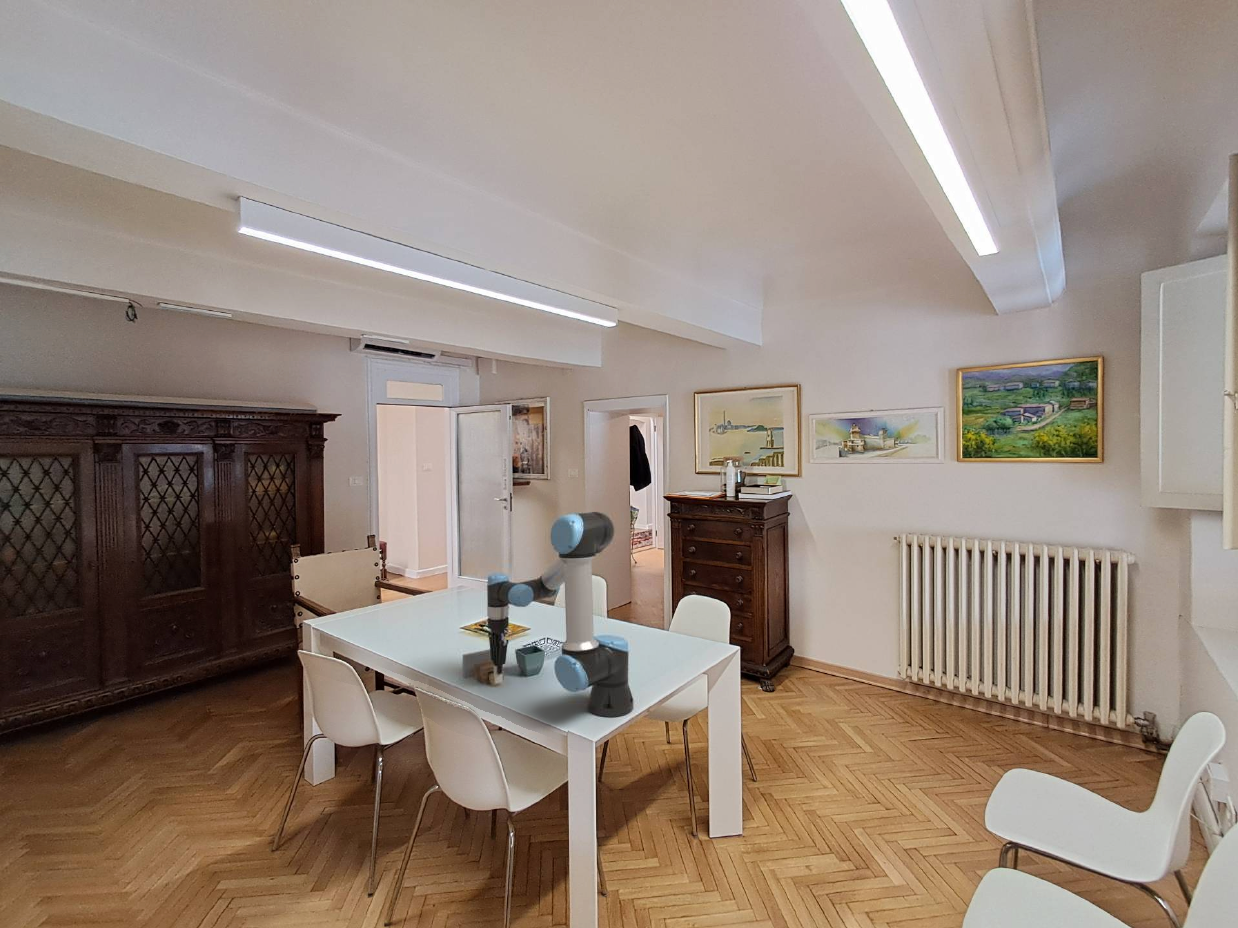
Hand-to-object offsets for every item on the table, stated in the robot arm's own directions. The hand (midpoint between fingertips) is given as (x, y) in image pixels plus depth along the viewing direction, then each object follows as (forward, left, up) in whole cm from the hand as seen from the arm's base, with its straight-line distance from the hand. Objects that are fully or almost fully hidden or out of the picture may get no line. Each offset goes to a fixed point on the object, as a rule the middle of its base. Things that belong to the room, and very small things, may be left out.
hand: (498, 681), depth 206 cm
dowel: (+6, 0, -2) cm, 6 cm away
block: (+9, 0, -2) cm, 9 cm away
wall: (+16, 0, -2) cm, 16 cm away
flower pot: (+5, -15, -2) cm, 16 cm away
